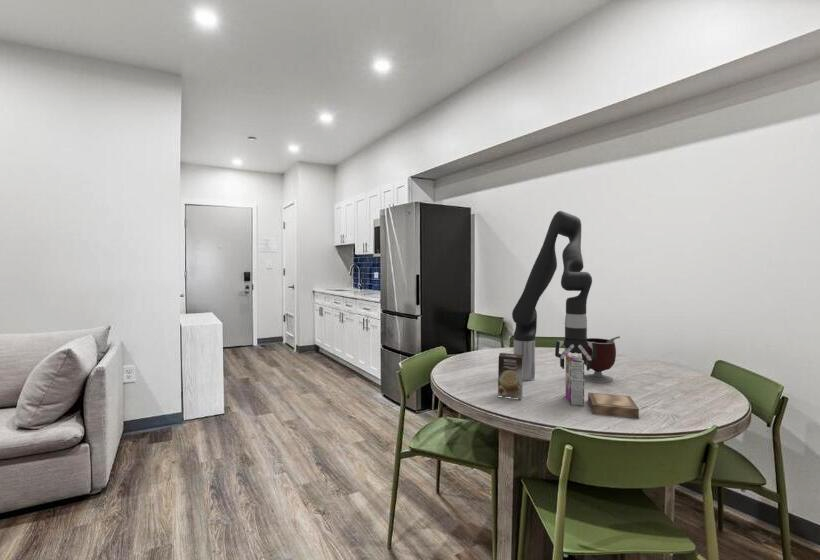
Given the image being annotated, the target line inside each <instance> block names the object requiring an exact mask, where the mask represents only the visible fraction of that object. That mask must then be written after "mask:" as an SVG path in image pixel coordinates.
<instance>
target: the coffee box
mask: <svg viewBox="0 0 820 560" xmlns="http://www.w3.org/2000/svg"><path fill="white" fill-rule="evenodd" d="M497 365H498V367H497V368H498V370H497V371H498V375H497V397H498V396H502V397H511V398H518V399H523V387H524V384H523V383H524V380H523V355H519V354H514V353H507V352H500V353H499V354H498V364H497Z"/></svg>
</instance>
